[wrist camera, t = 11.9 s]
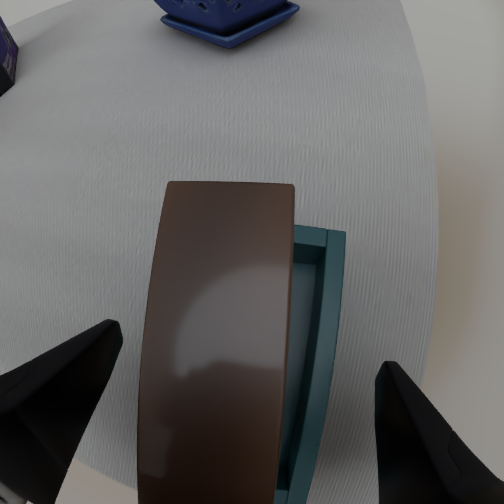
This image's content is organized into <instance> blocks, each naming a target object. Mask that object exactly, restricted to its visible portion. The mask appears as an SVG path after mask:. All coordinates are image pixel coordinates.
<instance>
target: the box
mask: <svg viewBox="0 0 504 504" xmlns="http://www.w3.org/2000/svg"><path fill="white" fill-rule="evenodd" d="M17 53H18V46H17V45H16V43H15V41H14V40H13V38H12V36H11V34H10V33H9V31H8V29H7V27H6V26H5V24H4V22H3V21H2V18H1V17H0V95H1V94H2V93H3V92H5V91H6V90H7V89H8V88H9V87H11V86H12V85H13V84H14V77H15V68H16V60H17Z"/></svg>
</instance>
